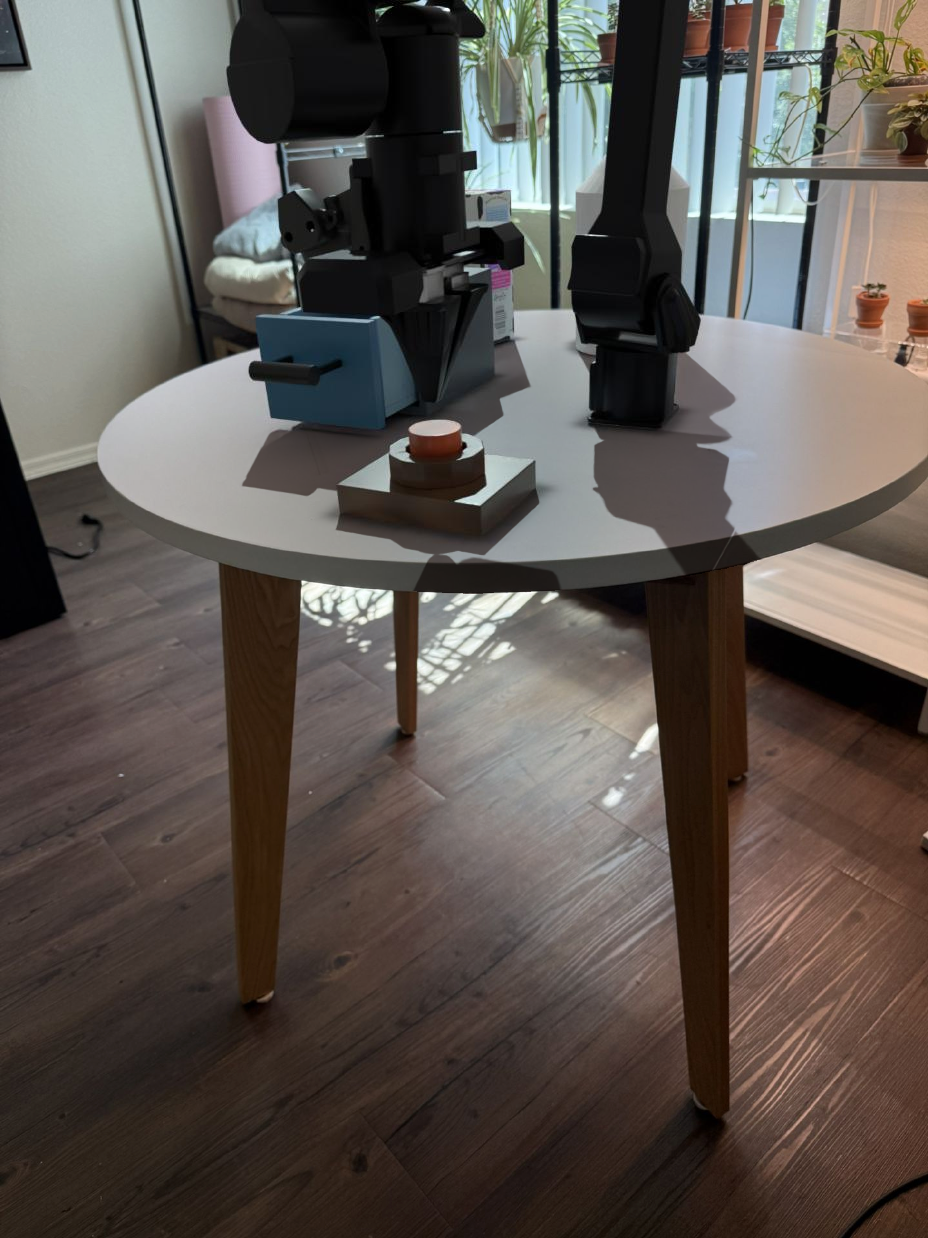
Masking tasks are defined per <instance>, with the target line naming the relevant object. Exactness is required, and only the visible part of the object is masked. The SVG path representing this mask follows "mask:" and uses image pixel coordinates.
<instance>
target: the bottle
mask: <svg viewBox="0 0 928 1238" xmlns="http://www.w3.org/2000/svg"><path fill="white" fill-rule="evenodd" d="M605 161H606V154H605V155H604V156H603V157H602V158H601V160H600V161H599V163H598V164H597V165H596V167H595V168H594V169H593V170H592V171H591V173H590V174H589V175H588V176H587V177H586V178H585V179H584V181H583V182H582V183H581V184H580V185H579V186H578V187H577V188H576V190H575V236H576V235H577V234H585V235H587V233H588V232H589V230H590V228H591V227H592V225H593V223H594V222H595V220H596V219H597V217H598V215H599V214H600V212H601V206H602V197H603V185H604V173H605ZM690 193H691V186H690V185H689V183H688V182H687V181H686V180H685V179H684V178H683V176H682V175H681V174H679V172H678V171H677V170H676V169H675V167H674V166H673V165H672V164H671V173H670V182H669V191H668V200H667V216H668V219H669V221H670V223H671V226H672V228H673V231H674V233H675V235H676V238H677V240H678V242H679V245H680V247H681V250H682V272H681V283H682V282H683V272H684V263H685V261H684V260H685V249H686V239H687V227H688V216H689V203H690ZM682 284H683V283H682ZM596 346H597V345H594V344H582V343H581V341H580V337H579V332H578V327H577V323H576V322H575V348H576V350H577V351H579V352H581V353H584V354H587V355H592V356H596Z"/></svg>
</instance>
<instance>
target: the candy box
mask: <svg viewBox="0 0 928 1238" xmlns="http://www.w3.org/2000/svg"><path fill="white" fill-rule="evenodd" d="M465 196H466V219H467V221H512V222H513V220H512V190H511V189H486V188H485V189H479V188H477V189H476V188H475V189H474V188H473V189H471V188H468V189H467V188H465ZM464 268H491V271H492V303H493V335H494V345H495V344H500V343H502V342H506V341H509V340H513V339H515V310H514V308H515V307H514V272H513V271H514V269H512V270H501V268H500V266H499V264H494V265H488V264H468V265H465V266H464Z"/></svg>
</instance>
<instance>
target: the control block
mask: <svg viewBox="0 0 928 1238" xmlns="http://www.w3.org/2000/svg"><path fill="white" fill-rule="evenodd" d="M536 465H537V464H536V460H535V459H529V458H520V457H513V456H504V455H497V454H487V453H485V446H484V441H483V440H482V439H481V438H479V437H476V436H474V435H471V434H469V433H462V451H461V452H460V453H457V454H453V455H450V456H446V457H433V458H428V457H419V456H413V455H411V454H410V445H409V436H407V437H403V438H400V439H398V440H397V441H395V442H393V443H392V444H390V445H389V446H388V452H387V453H385V454H384V455H383V456H381V457H379V458H377V459H376V460H374V461H372V462H371V463H369V464H368V465H366V466H364V467H363V468H361V469H359V470H358V471H356V472H354V473H353V474H352V475H350V476H348V477H347V478H345V479H343V480H342V481H340V482H337V483H336V486H335V487H336V494H337V502H338V508H339V510H338V511H339V514H341V515H344V516H345V515H346V516H351V517H357V518H364V519H371V520H376V521H383V522H388V523H395V524H400V525H407V526H413V527H420V528H425V529H432V530H439V531H445V532H451V533H455V534H456V533H457V534H463V535H468V536H475V537H480V538H481V537H484V536H485V535H486V534H487V533H489V531H490V530H491V529H493V528H494V527H495V526H496V525H497V524H498V523H499V522H501V521H502V520H503V519H504V518H505V517H506V516H507V515H508V514H509V513H511V511H512V510H514V509H515V508H516V507H517V506H518V505H520V503H522V502H523V501H524V500H525V499H526V498H527V497H528V496H530V495H531V493H532V492H534V491H535V490H536V488H537V481H536V480H537V477H536V476H537V473H536V471H537V470H536Z"/></svg>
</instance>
